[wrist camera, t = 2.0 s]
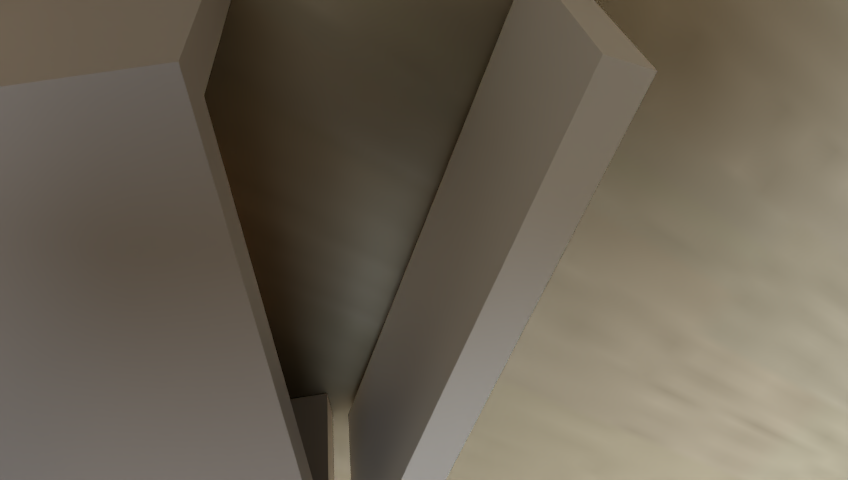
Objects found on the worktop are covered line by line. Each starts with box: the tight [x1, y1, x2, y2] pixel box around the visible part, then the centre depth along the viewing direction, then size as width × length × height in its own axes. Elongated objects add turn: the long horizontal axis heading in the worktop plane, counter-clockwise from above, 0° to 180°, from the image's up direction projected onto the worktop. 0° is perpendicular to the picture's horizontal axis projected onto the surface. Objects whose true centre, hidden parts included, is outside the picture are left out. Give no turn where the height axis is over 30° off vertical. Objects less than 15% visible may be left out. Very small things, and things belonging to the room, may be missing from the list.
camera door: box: [348, 0, 657, 480], centre depth 19 cm, size 14×2×5 cm, turn 161°
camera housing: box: [0, 0, 334, 480], centre depth 18 cm, size 16×10×7 cm, turn 6°
